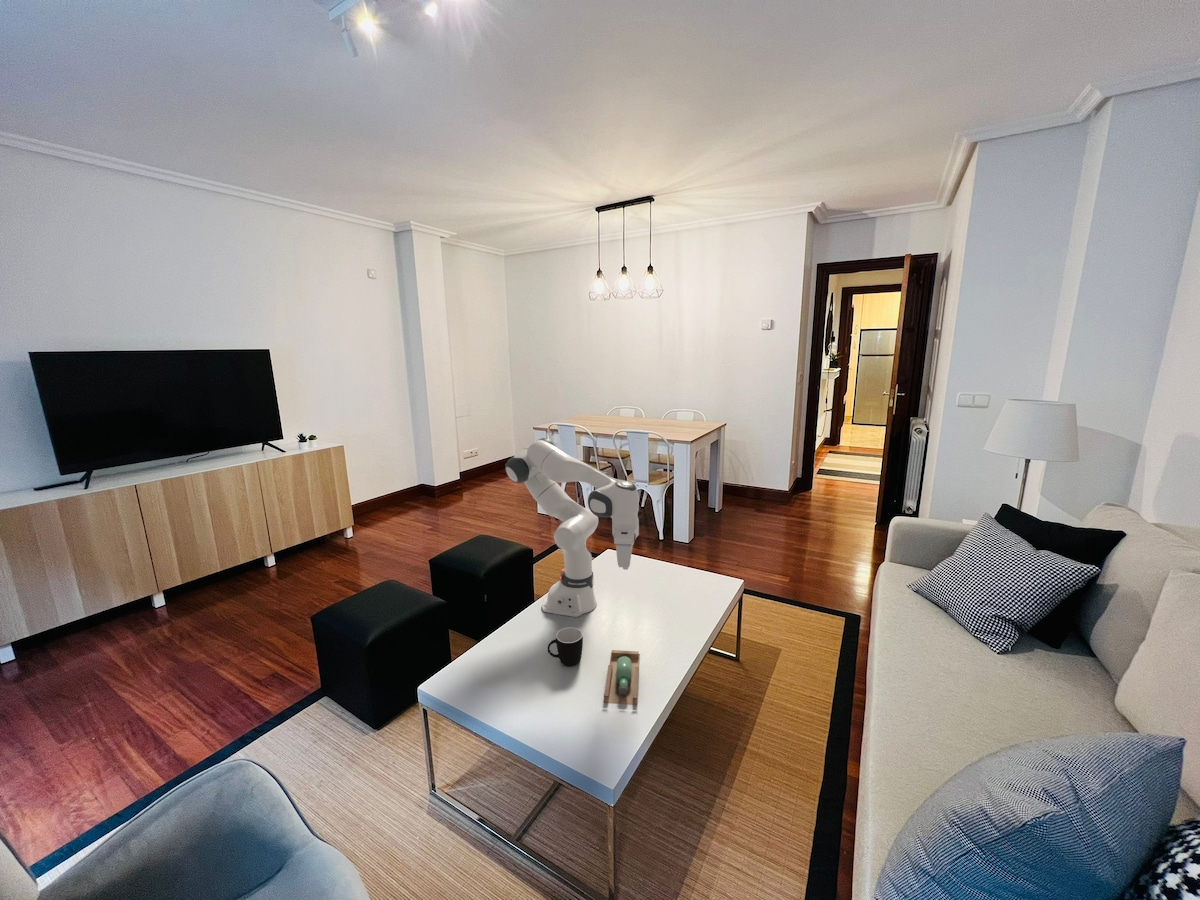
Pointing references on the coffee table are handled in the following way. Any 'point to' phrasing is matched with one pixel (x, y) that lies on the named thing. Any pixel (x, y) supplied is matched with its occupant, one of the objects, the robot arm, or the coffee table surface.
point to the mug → (568, 646)
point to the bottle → (623, 674)
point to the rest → (611, 684)
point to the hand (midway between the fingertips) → (625, 567)
